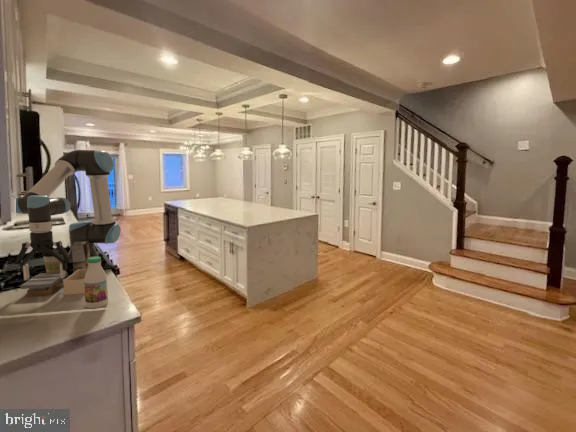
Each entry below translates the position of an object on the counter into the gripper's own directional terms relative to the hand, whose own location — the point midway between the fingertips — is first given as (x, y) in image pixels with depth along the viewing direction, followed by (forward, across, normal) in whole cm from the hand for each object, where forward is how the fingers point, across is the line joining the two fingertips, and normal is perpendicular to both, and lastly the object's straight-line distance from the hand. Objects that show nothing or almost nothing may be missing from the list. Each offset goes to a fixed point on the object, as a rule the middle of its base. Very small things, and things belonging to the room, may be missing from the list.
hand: (45, 278), depth 134 cm
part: (+5, +14, +4) cm, 15 cm away
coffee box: (+6, +6, +24) cm, 26 cm away
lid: (+2, 0, 0) cm, 2 cm away
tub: (+6, +14, 0) cm, 15 cm away
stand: (+6, 0, 0) cm, 6 cm away
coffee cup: (+6, -2, +15) cm, 16 cm away
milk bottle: (+6, +26, -20) cm, 33 cm away
